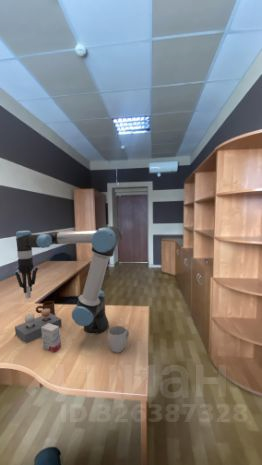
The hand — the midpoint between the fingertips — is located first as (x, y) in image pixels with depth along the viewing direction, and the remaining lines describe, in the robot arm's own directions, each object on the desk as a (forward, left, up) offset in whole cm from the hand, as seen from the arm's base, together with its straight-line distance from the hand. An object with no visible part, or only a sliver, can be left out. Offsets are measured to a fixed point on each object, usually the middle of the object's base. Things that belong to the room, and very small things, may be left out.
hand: (28, 297), depth 125 cm
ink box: (-22, -1, -23) cm, 32 cm away
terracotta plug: (0, -10, -19) cm, 21 cm away
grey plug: (0, 0, -19) cm, 19 cm away
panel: (0, -5, -22) cm, 23 cm away
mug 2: (-50, -24, -23) cm, 60 cm away
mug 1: (+13, -16, -23) cm, 31 cm away
